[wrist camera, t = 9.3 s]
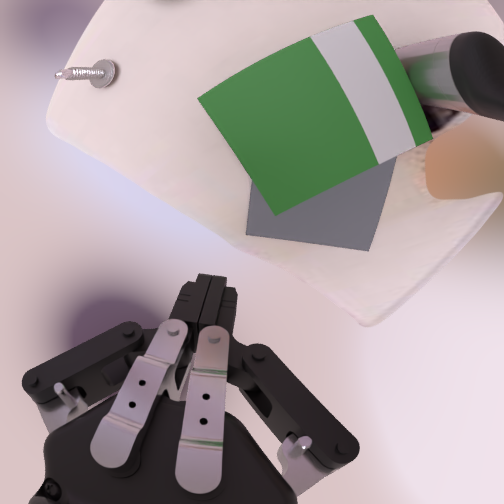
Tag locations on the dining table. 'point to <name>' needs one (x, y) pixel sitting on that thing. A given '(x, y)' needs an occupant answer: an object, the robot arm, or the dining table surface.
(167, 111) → the dining table surface
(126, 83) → the dining table surface
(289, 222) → the mat
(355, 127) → the hardback book
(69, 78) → the screw
